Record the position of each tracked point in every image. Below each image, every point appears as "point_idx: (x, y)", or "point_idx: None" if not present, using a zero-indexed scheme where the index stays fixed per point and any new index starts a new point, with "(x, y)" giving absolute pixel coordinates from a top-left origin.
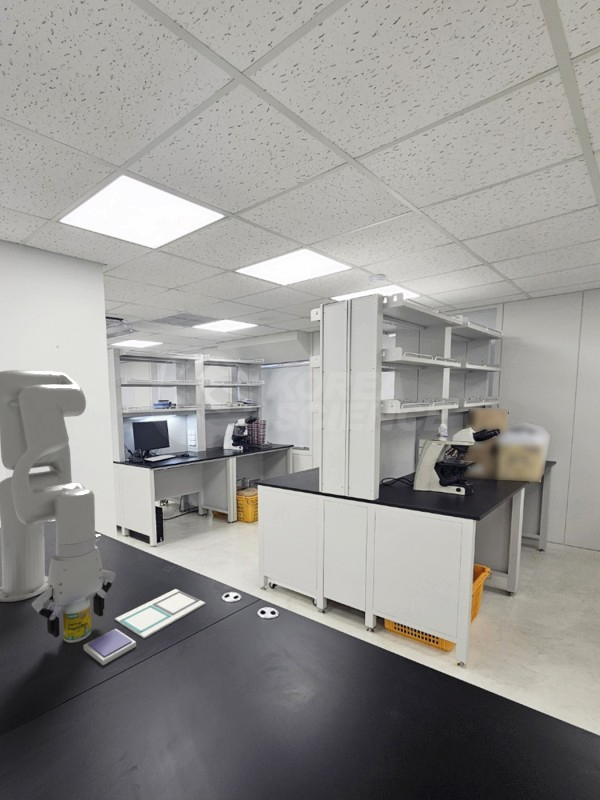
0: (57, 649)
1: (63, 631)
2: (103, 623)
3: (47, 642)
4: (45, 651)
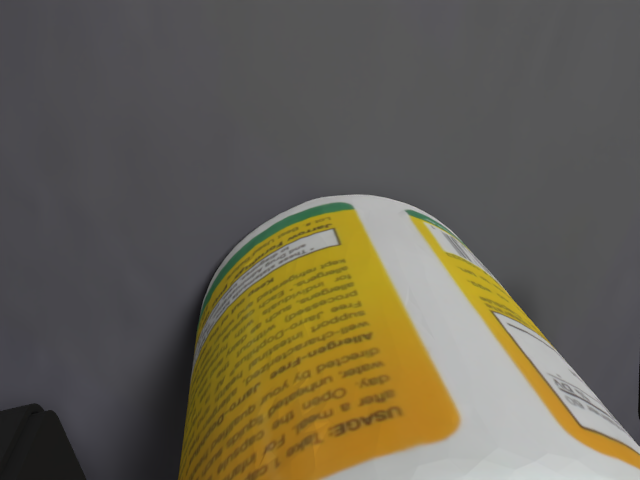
0: (122, 429)
1: (191, 375)
2: (627, 254)
3: (28, 234)
4: (7, 394)
